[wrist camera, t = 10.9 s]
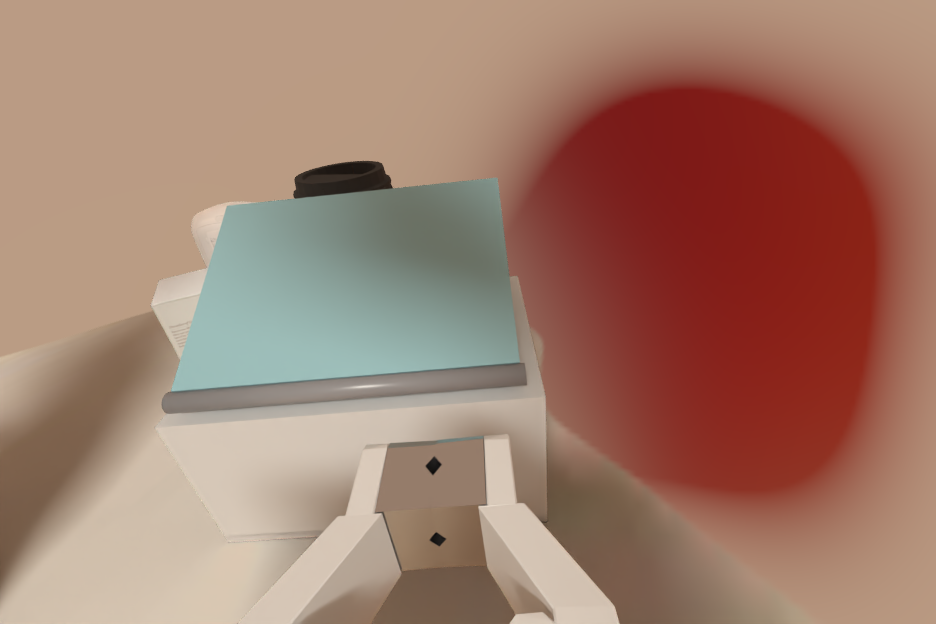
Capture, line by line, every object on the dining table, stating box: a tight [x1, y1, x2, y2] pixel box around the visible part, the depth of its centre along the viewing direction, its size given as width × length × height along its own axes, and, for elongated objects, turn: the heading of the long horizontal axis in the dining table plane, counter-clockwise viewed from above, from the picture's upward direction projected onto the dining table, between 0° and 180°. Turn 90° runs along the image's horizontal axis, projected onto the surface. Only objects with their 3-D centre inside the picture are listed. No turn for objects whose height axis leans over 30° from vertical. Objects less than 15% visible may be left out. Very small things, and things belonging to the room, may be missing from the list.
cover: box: [162, 178, 527, 414], centre depth 23 cm, size 16×12×1 cm
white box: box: [155, 276, 547, 543], centre depth 27 cm, size 18×12×9 cm
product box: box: [151, 268, 208, 360], centre depth 41 cm, size 6×6×7 cm
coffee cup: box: [293, 161, 393, 199], centre depth 40 cm, size 8×8×15 cm
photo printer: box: [191, 202, 253, 268], centre depth 45 cm, size 10×4×12 cm, turn 77°
